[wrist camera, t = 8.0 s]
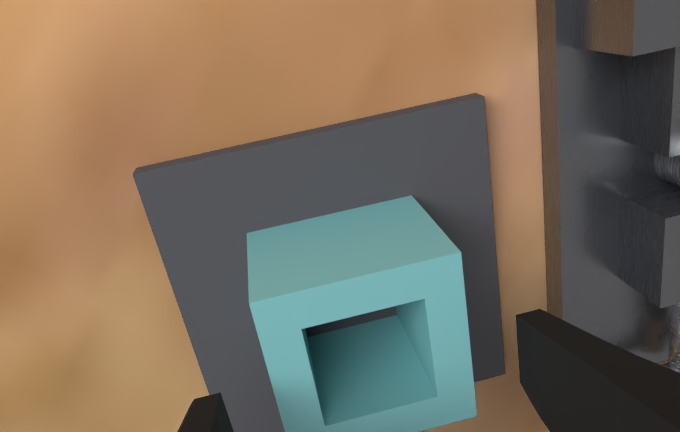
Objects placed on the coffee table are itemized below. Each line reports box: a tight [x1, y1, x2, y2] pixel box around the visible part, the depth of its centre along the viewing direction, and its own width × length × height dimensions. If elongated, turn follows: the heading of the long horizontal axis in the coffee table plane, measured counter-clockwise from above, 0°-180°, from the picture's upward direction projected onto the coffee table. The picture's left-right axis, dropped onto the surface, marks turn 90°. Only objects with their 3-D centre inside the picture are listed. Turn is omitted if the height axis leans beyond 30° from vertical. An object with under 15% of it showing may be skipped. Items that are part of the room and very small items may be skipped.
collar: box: [247, 195, 477, 432], centre depth 15 cm, size 5×5×4 cm
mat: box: [133, 93, 505, 432], centre depth 17 cm, size 10×10×1 cm
